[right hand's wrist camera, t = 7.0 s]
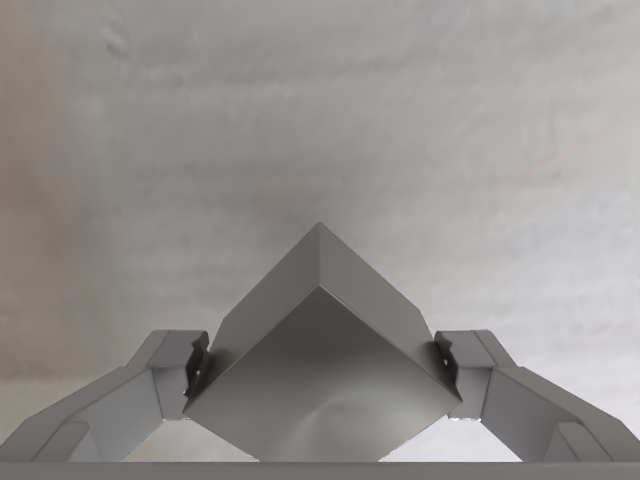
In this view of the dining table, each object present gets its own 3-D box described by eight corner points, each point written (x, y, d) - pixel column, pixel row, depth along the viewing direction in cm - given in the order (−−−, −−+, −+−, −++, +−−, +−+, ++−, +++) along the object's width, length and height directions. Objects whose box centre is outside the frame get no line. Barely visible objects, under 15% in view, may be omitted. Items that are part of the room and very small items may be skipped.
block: (322, 390, 13) (323, 501, 10) (222, 318, 12) (180, 414, 8) (419, 309, 12) (464, 402, 8) (319, 220, 11) (319, 282, 7)
